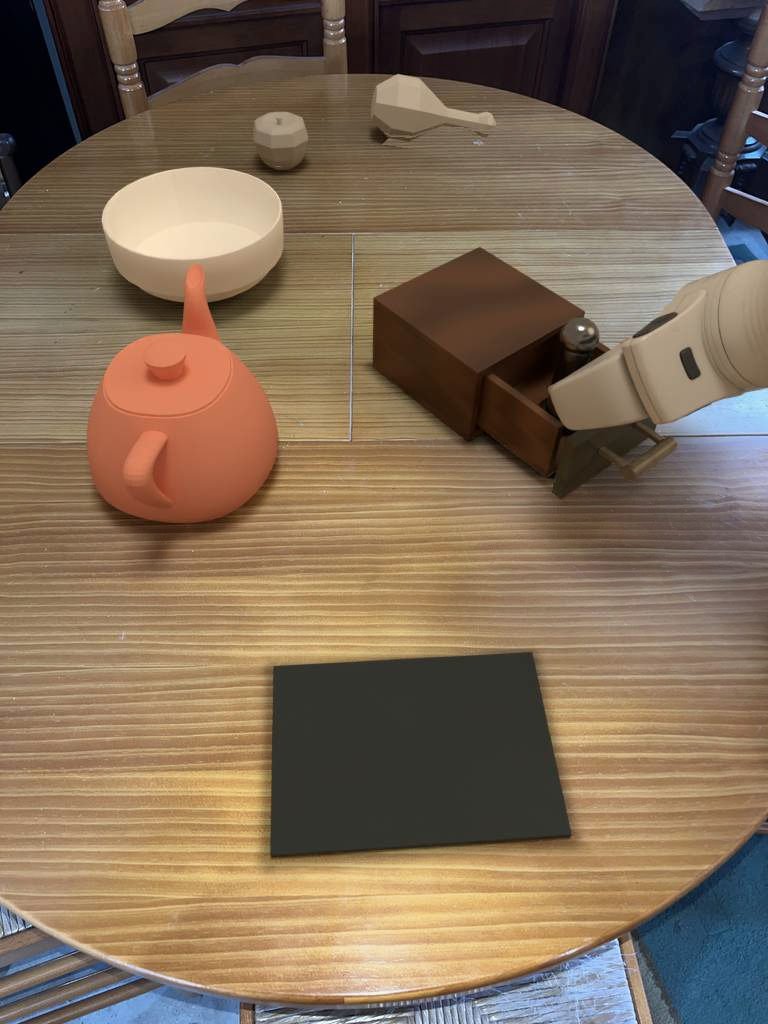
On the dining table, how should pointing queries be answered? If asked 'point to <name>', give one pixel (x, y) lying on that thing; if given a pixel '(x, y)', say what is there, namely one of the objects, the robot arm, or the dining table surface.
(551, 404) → the domed metal post
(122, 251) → the bowl
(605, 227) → the dining table surface
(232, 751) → the dining table surface
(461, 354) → the cabinet
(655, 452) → the drawer
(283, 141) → the apple
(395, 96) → the chicken leg
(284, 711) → the mat
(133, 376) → the teapot
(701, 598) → the dining table surface
